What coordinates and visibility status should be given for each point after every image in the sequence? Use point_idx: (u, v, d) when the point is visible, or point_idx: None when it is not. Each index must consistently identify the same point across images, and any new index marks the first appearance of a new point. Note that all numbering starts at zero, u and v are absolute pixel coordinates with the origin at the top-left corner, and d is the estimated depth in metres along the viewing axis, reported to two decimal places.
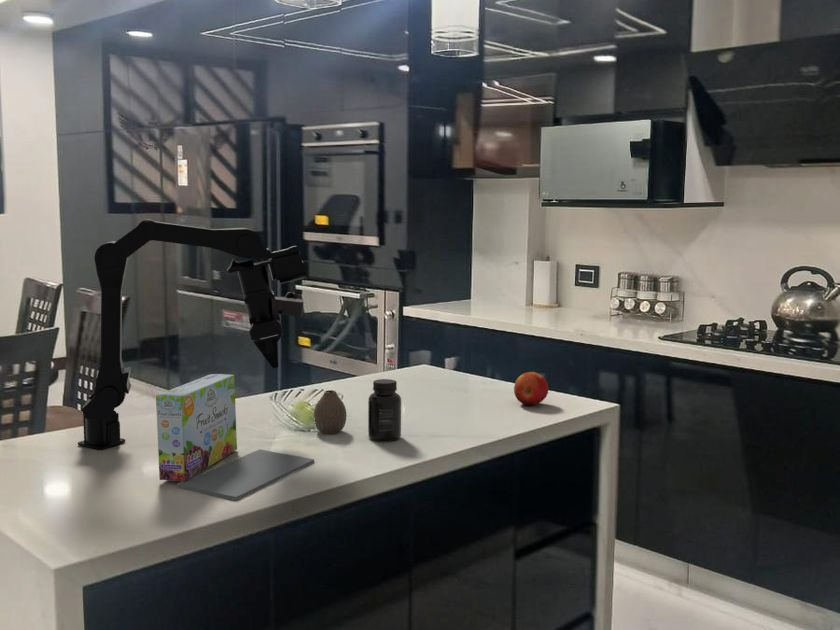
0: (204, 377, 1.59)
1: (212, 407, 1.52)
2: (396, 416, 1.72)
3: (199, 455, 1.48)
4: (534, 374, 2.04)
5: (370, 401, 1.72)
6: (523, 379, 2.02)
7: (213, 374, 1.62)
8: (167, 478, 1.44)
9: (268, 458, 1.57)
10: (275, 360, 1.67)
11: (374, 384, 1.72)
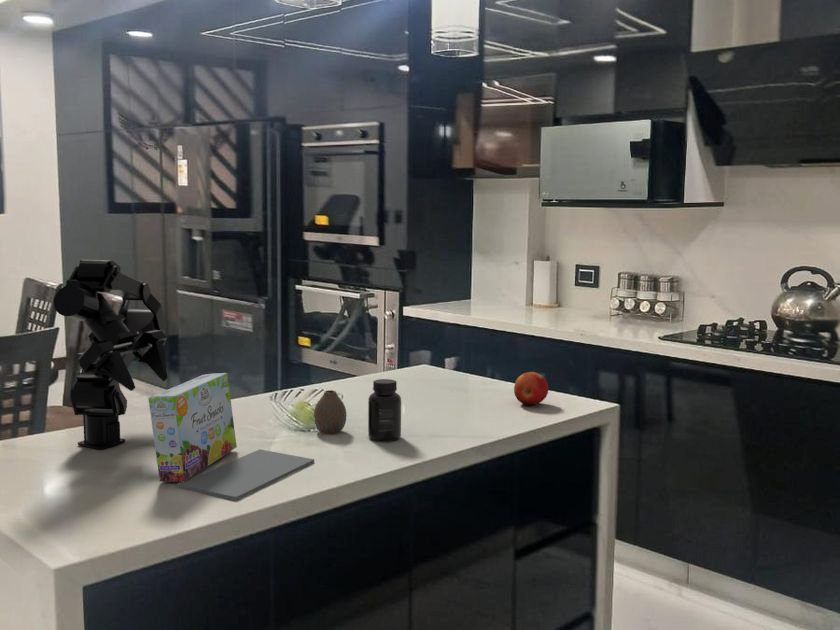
0: (197, 377, 1.59)
1: (207, 406, 1.52)
2: (396, 416, 1.72)
3: (197, 454, 1.48)
4: (534, 374, 2.04)
5: (370, 401, 1.72)
6: (523, 379, 2.02)
7: (206, 374, 1.62)
8: (167, 479, 1.44)
9: (268, 458, 1.57)
10: None
11: (374, 384, 1.72)
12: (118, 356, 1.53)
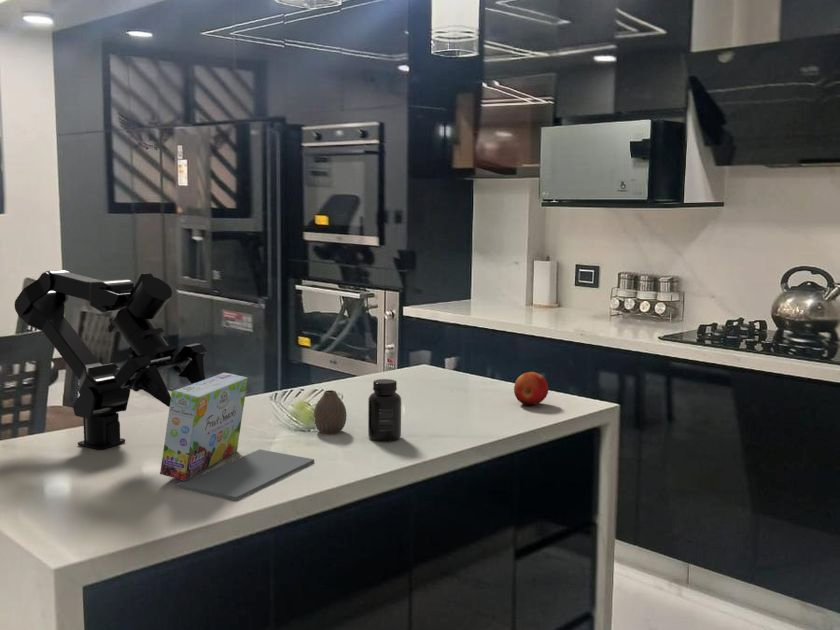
0: (218, 376, 1.58)
1: (222, 409, 1.52)
2: (396, 416, 1.72)
3: (202, 455, 1.47)
4: (534, 374, 2.04)
5: (370, 401, 1.72)
6: (523, 379, 2.02)
7: (227, 373, 1.62)
8: (168, 474, 1.44)
9: (268, 458, 1.57)
10: None
11: (374, 384, 1.72)
12: (155, 371, 1.48)
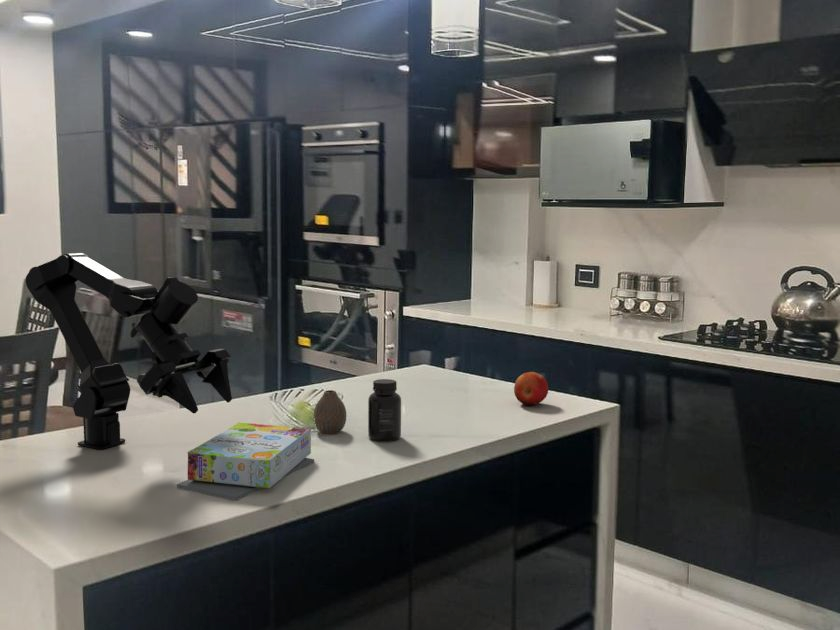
0: (304, 437, 1.56)
1: None
2: (396, 416, 1.72)
3: None
4: (534, 374, 2.04)
5: (370, 401, 1.72)
6: (523, 379, 2.02)
7: (310, 433, 1.59)
8: (189, 461, 1.43)
9: None
10: None
11: (374, 384, 1.72)
12: (180, 377, 1.46)
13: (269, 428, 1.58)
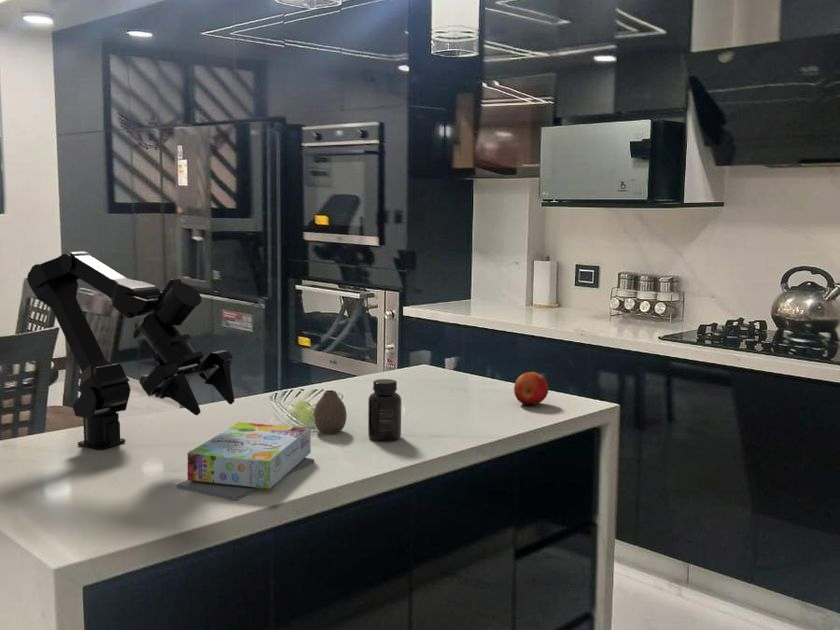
0: (303, 437, 1.56)
1: None
2: (396, 416, 1.72)
3: None
4: (534, 374, 2.04)
5: (370, 401, 1.72)
6: (523, 379, 2.02)
7: (309, 433, 1.59)
8: (189, 462, 1.43)
9: None
10: None
11: (374, 384, 1.72)
12: (183, 379, 1.46)
13: (269, 428, 1.58)
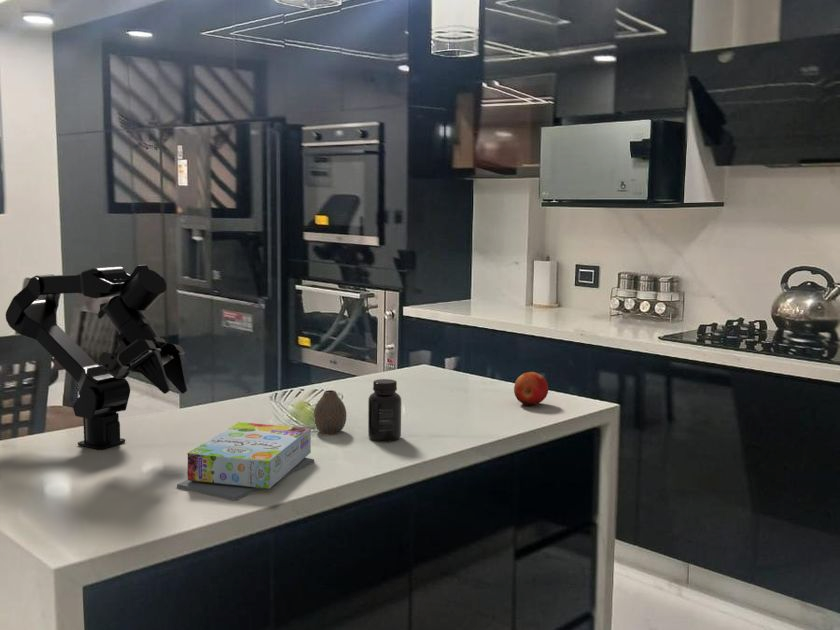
0: (303, 437, 1.56)
1: None
2: (396, 416, 1.72)
3: None
4: (534, 374, 2.04)
5: (370, 401, 1.72)
6: (523, 379, 2.02)
7: (309, 433, 1.59)
8: (189, 462, 1.43)
9: None
10: None
11: (374, 384, 1.72)
12: (159, 356, 1.52)
13: (269, 428, 1.58)
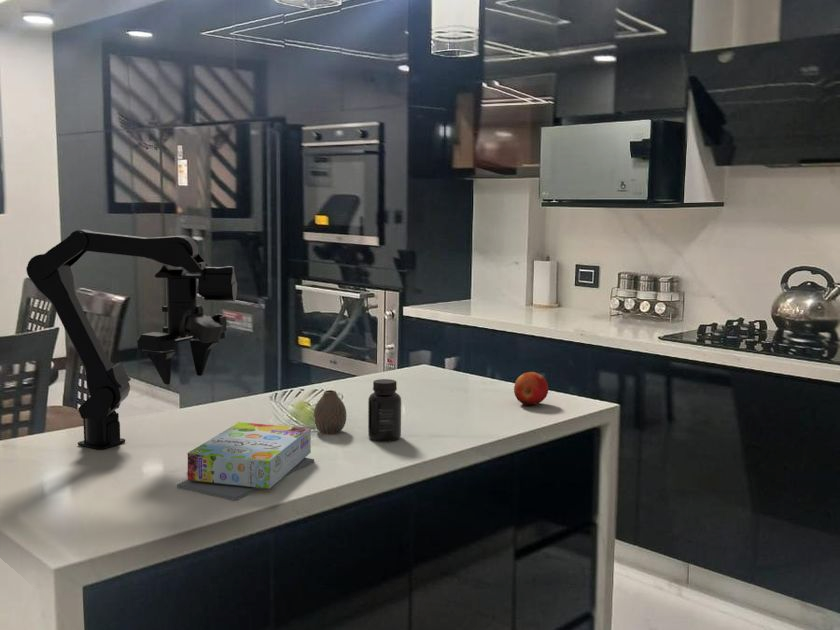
0: (303, 437, 1.56)
1: None
2: (396, 416, 1.72)
3: None
4: (534, 374, 2.04)
5: (370, 401, 1.72)
6: (523, 379, 2.02)
7: (309, 433, 1.59)
8: (189, 462, 1.43)
9: None
10: (165, 376, 1.60)
11: (374, 384, 1.72)
12: None
13: (269, 428, 1.58)
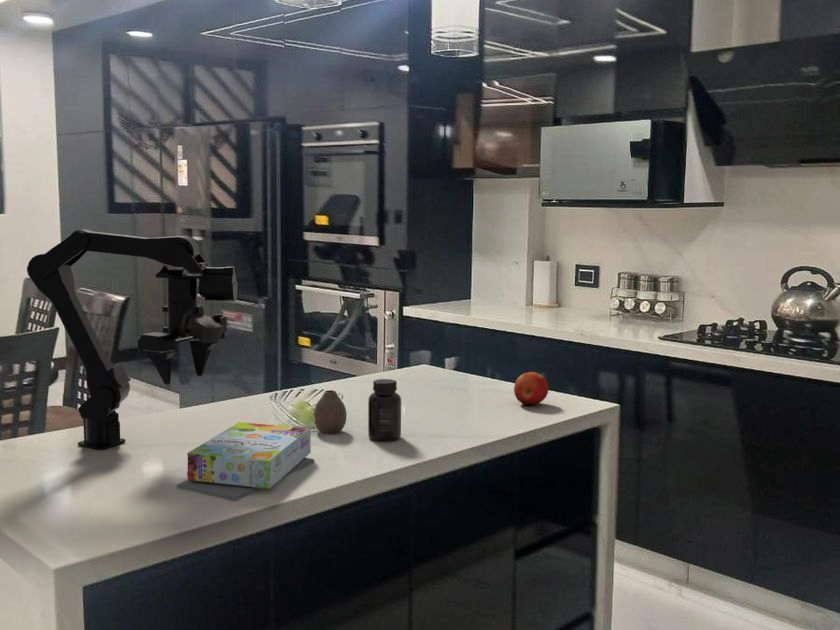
0: (303, 437, 1.56)
1: None
2: (396, 416, 1.72)
3: None
4: (534, 374, 2.04)
5: (370, 401, 1.72)
6: (523, 379, 2.02)
7: (309, 433, 1.59)
8: (189, 462, 1.43)
9: None
10: (165, 376, 1.60)
11: (374, 384, 1.72)
12: None
13: (269, 428, 1.58)
